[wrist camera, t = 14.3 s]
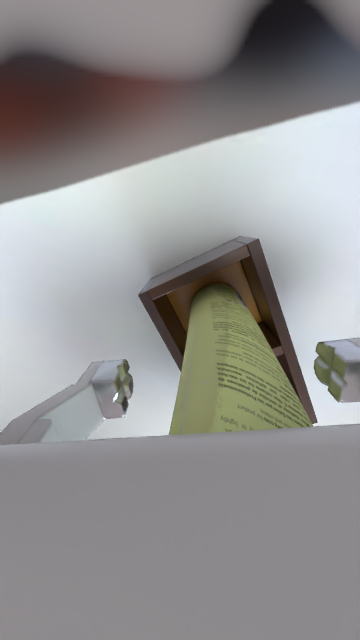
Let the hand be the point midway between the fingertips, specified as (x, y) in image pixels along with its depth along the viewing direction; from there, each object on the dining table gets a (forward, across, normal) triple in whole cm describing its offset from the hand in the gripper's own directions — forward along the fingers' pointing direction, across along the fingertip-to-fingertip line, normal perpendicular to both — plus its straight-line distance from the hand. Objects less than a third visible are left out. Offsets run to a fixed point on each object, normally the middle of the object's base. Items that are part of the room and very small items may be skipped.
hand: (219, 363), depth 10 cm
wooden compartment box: (+13, -2, +5) cm, 14 cm away
